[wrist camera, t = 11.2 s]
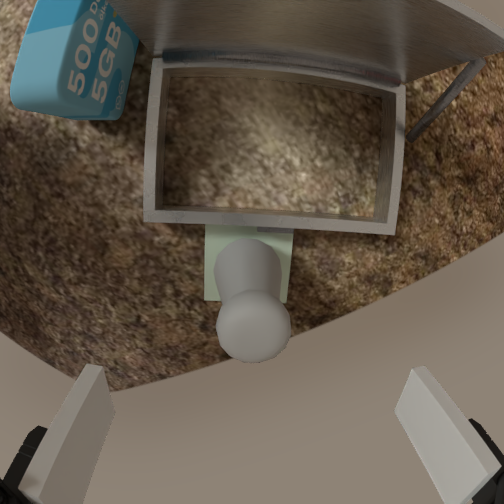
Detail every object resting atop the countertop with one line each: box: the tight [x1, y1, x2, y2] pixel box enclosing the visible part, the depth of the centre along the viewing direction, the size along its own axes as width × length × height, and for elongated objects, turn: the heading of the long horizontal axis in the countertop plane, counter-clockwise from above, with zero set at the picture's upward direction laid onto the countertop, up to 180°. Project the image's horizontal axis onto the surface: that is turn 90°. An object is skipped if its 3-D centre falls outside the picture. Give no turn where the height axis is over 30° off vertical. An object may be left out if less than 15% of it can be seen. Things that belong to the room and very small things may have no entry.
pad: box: [204, 224, 294, 303], centre depth 29 cm, size 8×8×1 cm
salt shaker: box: [213, 238, 291, 363], centre depth 22 cm, size 6×6×13 cm
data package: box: [10, 0, 139, 120], centre depth 17 cm, size 12×4×12 cm, turn 171°
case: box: [106, 0, 504, 235], centre depth 18 cm, size 23×16×17 cm
